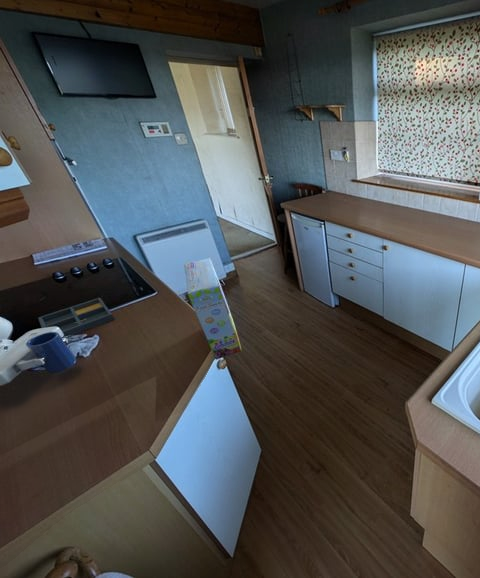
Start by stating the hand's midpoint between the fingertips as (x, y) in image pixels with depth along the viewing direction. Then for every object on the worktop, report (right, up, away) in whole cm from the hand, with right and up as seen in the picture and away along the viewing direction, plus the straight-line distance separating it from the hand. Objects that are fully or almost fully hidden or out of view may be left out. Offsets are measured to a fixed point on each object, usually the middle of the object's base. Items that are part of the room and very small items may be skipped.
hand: (55, 350), depth 82 cm
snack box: (+37, 0, +19) cm, 42 cm away
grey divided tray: (-21, +5, +26) cm, 34 cm away
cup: (-1, -5, +3) cm, 6 cm away
